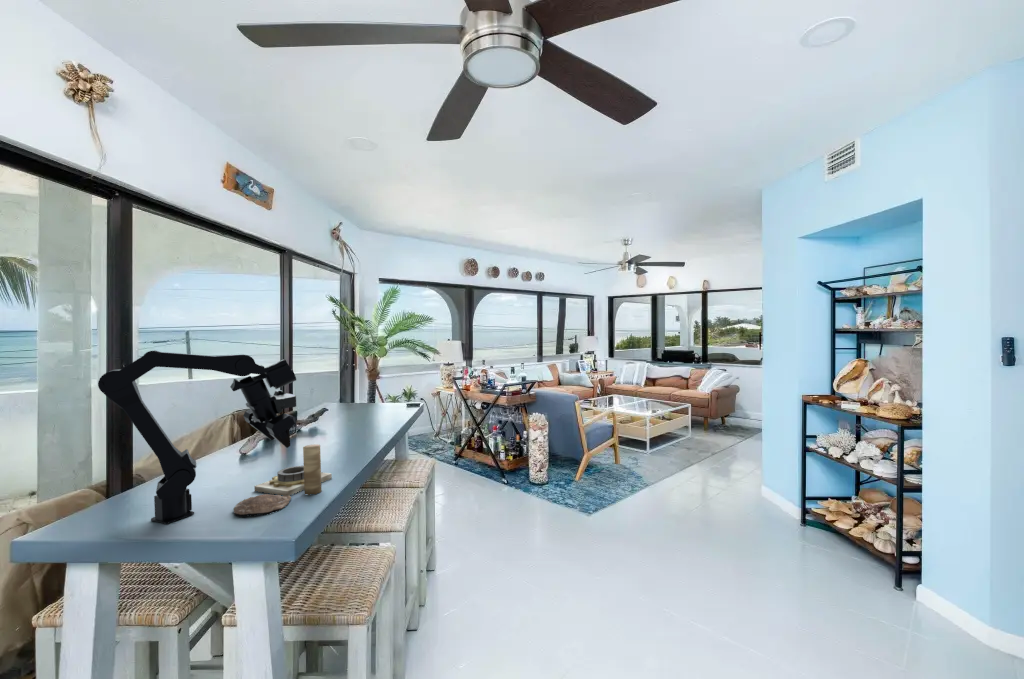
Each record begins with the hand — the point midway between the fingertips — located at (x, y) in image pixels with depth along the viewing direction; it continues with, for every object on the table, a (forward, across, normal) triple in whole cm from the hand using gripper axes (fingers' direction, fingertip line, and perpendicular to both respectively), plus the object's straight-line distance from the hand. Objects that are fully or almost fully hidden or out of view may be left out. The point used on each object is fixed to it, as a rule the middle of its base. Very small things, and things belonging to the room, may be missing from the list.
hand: (280, 442), depth 127 cm
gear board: (+14, 0, +2) cm, 14 cm away
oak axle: (+13, -10, +1) cm, 17 cm away
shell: (+8, -10, +14) cm, 19 cm away
